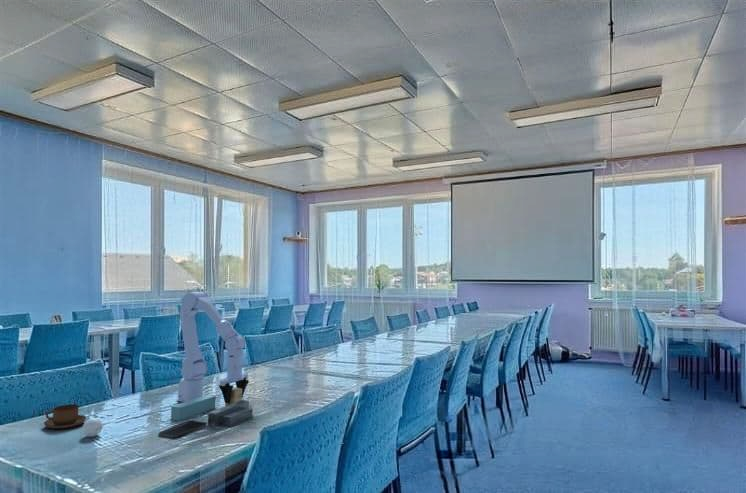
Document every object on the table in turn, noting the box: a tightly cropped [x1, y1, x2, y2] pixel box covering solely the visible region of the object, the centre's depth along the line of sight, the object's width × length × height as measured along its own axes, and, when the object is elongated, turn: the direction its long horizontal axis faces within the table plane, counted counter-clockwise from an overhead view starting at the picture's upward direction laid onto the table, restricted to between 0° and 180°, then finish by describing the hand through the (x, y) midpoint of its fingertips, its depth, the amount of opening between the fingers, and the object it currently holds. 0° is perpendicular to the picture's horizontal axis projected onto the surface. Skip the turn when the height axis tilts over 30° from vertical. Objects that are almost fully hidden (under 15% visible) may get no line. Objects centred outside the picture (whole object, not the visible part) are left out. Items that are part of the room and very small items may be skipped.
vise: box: [207, 399, 254, 428], centre depth 171 cm, size 7×18×4 cm, turn 156°
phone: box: [158, 420, 208, 440], centre depth 159 cm, size 8×1×15 cm
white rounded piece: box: [81, 417, 103, 438], centre depth 153 cm, size 8×6×6 cm
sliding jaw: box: [170, 394, 217, 422], centre depth 179 cm, size 4×18×4 cm, turn 156°
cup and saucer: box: [43, 404, 87, 430], centre depth 163 cm, size 12×12×6 cm
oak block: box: [224, 386, 243, 406], centre depth 191 cm, size 4×4×6 cm
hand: (233, 400), depth 191 cm, fingers open, 7 cm apart
